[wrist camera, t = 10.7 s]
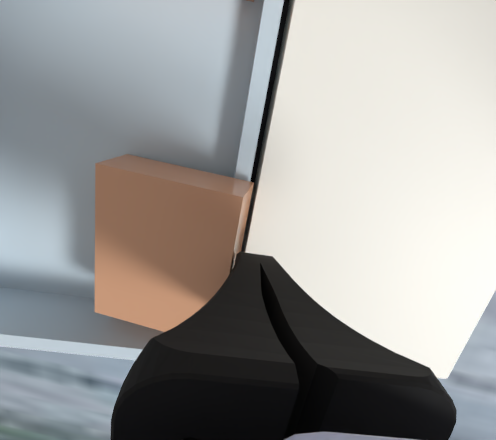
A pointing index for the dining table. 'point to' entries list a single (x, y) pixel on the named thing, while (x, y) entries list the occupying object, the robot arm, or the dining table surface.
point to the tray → (111, 138)
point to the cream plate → (385, 168)
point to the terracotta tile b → (163, 238)
